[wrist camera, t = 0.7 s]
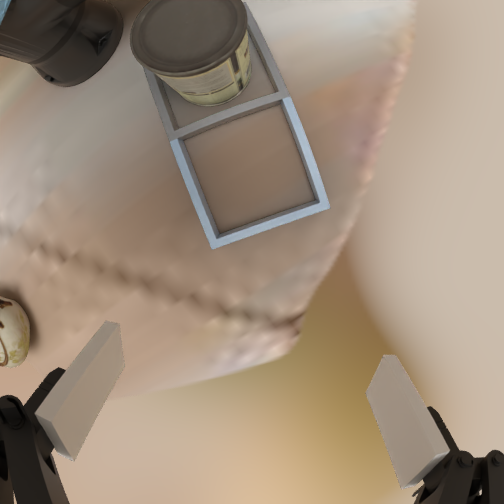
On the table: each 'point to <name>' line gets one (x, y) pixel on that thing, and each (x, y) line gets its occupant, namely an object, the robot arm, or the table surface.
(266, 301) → the table surface
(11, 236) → the table surface
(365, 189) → the table surface
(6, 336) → the sugar bowl
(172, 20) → the coffee can
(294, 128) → the bay tray
